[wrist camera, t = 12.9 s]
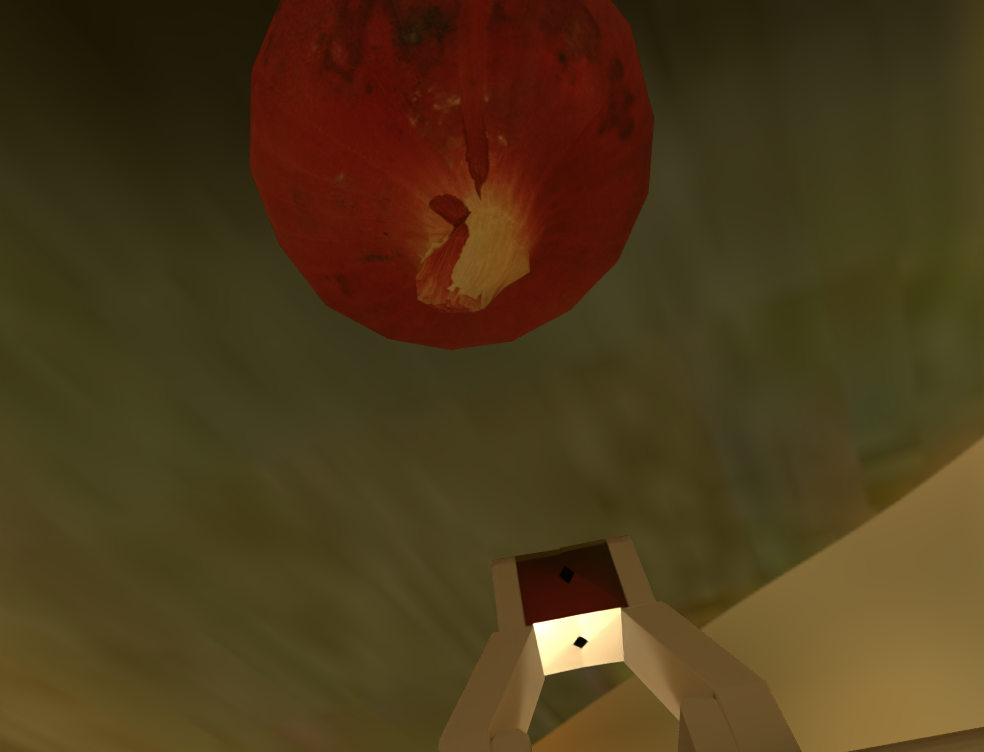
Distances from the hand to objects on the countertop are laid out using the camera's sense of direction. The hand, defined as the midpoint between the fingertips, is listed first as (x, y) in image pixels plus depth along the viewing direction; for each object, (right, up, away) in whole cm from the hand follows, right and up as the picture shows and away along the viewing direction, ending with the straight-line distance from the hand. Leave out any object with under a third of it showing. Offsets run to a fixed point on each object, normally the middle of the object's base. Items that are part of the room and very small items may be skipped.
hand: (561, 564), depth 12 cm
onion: (-3, +10, 0) cm, 10 cm away
